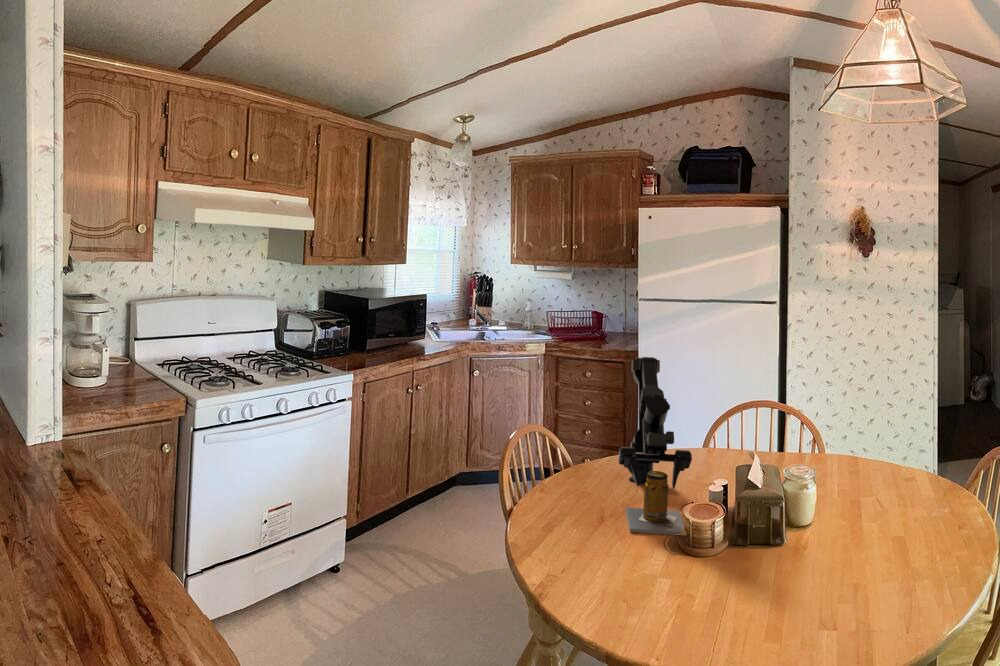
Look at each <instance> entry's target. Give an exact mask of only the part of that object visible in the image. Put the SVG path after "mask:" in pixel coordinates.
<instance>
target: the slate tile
mask: <svg viewBox="0 0 1000 666" xmlns="http://www.w3.org/2000/svg"><path fill="white" fill-rule="evenodd" d="M625 514H626V520H627V524H628V525H629V526H628V531H629V530H630V531H629V533H633V532H639V533H638V534H647V533H654V534H653V535H661V534H669V535H668V536H675V534H681V533H682V531H683V523H684V520H683V518H682V515H681V513H680V511H679V510H669V509H667V515H670V516H675V517H677V519H676V520H675V522H674V524H673V525H672V526H668V525H661V524H657V523H656V524H655V523H650V522H645V521H641V520H639V518H640V517H641V516H642V515H643V507H642V508H641V507H629V506H628V507H625Z"/></svg>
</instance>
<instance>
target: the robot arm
mask: <svg viewBox="0 0 1000 666" xmlns="http://www.w3.org/2000/svg"><path fill="white" fill-rule="evenodd" d="M660 366H661V361H660V360H659V359H657V358H655V357H651V356H650V357H649V356H642V357H635V358H633V359H632V360H631V368H630V370H631V373H632V374H633V375H632V376H633V380H634V381H635V383H636V385H637V387H638V389H637V390H638V392H637V394H638V395H637V397H638V401H637V402H638V403H637V407H638V408H637V411H638V413H637V415H638V416H637V417H638V419H637V421H638V422H637V425H638V426H637V431H636V433H635V434H634V436H633V438H632V441H631V443H630V446H621V447H620V448H619V452H618V464H619V465H622V466H623V467H624V468H625V469H627V470H628V472H629V473H630V474H631V476H630V477H629V478H628V481H632V482H635V485H636V487H637V488H638V487H640V483H641V484H644V485H645V483H646V482H647V480H646V479H647V473H648V472H650V471H654V464H659V463H660V462H668V463H669V462H670V463H673V467H672V478H671V479H672V481H671V483H672V489H673V490H674V489H675V488H676V485H677V481H678V477H679V475H680V472H684V471H685V469H689V468H690V466H691V464H692V460H693V457H692V456H693V455H692V452H691V451H690V450H689V449H688V450H687V449H685V450H684V449H675V452H674V454H672V453H671V454H669V453H666V452H667V449H668V445H674V443H675V433H674V431H670V430H669V431H666V432H665V426H664V425H665V422H666V418H667V415H668V412H669V411H670V409H671V404H669V402H668V401H667V398H665V392H664V391H663V390H662V389H661V388H660V387H659V381H658V374H659V373H660V372H661V367H660Z"/></svg>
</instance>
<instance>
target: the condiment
mask: <svg viewBox="0 0 1000 666" xmlns="http://www.w3.org/2000/svg"><path fill="white" fill-rule="evenodd" d="M668 477H669V476H668V474H667V473H666V472H663V471H660V470H659V471H658V470H653V471H650V472H648V473H647V479H646V480H647V482H646V483H645V484H644V490H643V491H644V494H643V507H642V508H643V515H642V516H641V517H640V518H639V520H641V521H645V522H650V523H655V524H656V523H657V524H661V525H668V526H672V525H673V524H674V522H675V520H676V519H677V517H675V516H670V515H667V510H668V503H669V502H668V500H669V488H670V487H669V484H668V482H669V480H668Z"/></svg>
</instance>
